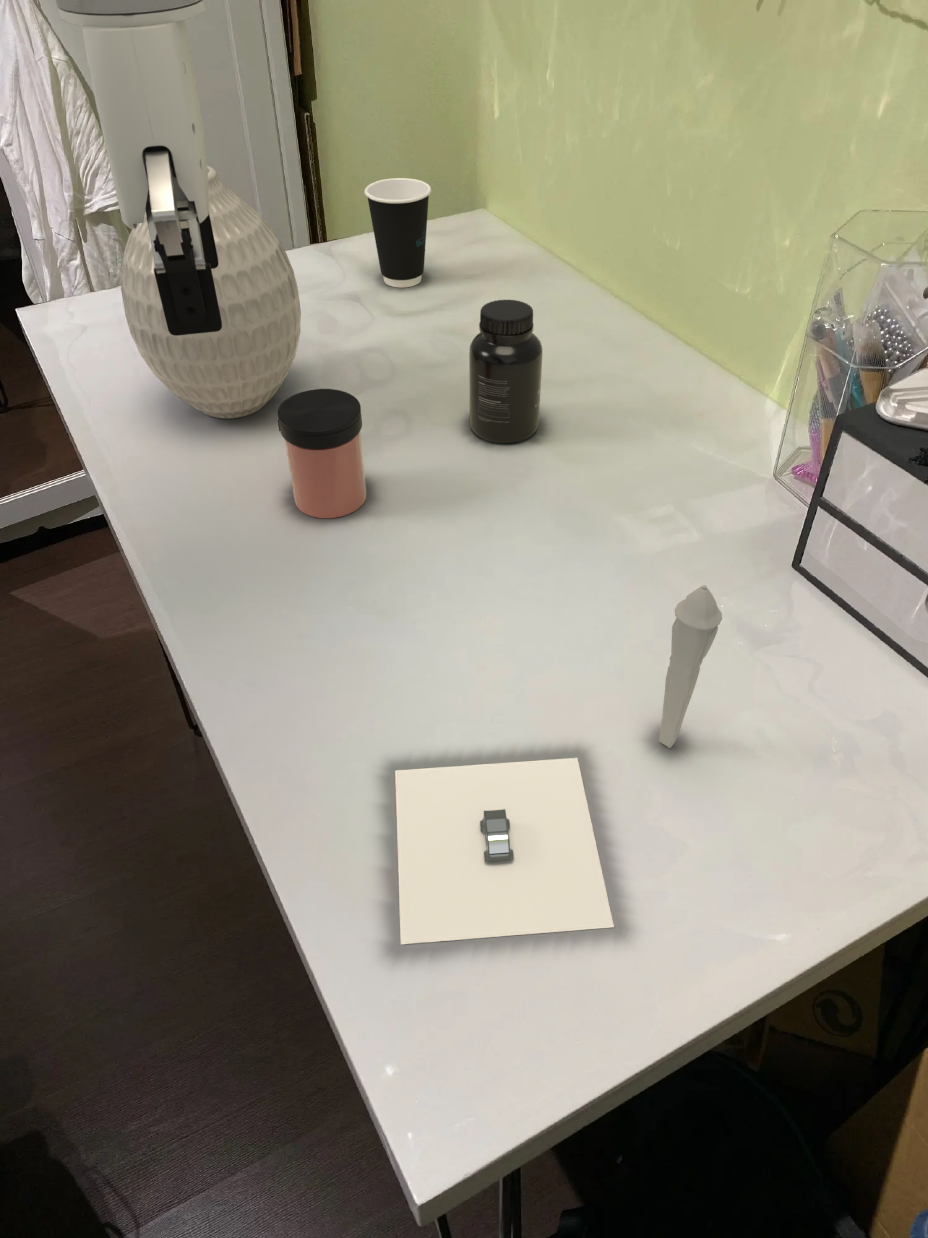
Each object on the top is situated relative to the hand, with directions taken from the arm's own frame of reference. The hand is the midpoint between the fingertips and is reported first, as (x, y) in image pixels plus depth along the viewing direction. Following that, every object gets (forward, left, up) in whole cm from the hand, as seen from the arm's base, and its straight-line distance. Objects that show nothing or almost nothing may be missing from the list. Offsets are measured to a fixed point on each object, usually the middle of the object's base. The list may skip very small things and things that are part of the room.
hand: (196, 298), depth 59 cm
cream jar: (+7, +8, -22) cm, 25 cm away
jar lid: (+7, +8, -14) cm, 18 cm away
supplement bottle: (+25, +16, -23) cm, 37 cm away
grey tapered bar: (+26, -25, -23) cm, 43 cm away
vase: (-1, +27, -23) cm, 35 cm away
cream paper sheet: (+13, -30, -23) cm, 40 cm away
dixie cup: (+21, +53, -23) cm, 61 cm away
